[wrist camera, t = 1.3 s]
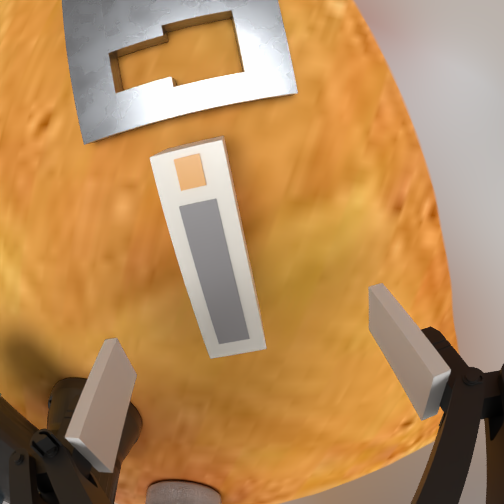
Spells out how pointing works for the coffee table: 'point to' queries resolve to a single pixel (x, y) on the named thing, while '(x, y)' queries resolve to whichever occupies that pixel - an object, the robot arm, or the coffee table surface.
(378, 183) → the coffee table surface
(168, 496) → the planter
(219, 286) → the white peg
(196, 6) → the keyhole board
